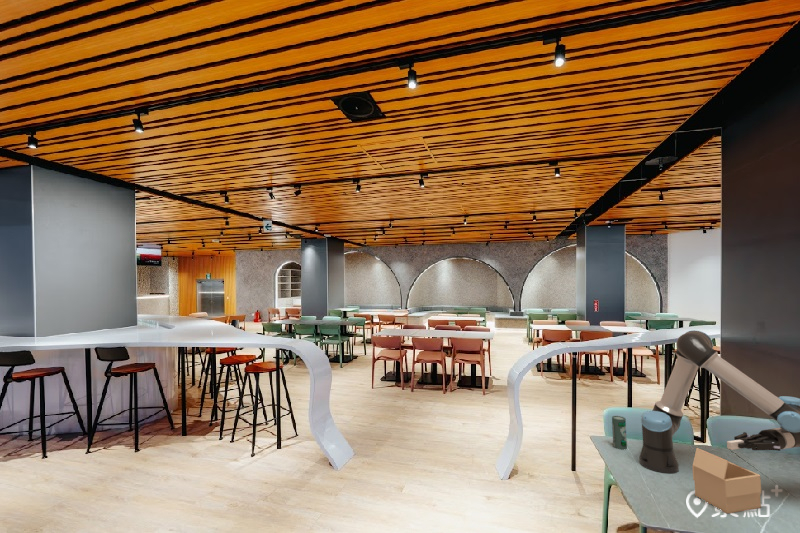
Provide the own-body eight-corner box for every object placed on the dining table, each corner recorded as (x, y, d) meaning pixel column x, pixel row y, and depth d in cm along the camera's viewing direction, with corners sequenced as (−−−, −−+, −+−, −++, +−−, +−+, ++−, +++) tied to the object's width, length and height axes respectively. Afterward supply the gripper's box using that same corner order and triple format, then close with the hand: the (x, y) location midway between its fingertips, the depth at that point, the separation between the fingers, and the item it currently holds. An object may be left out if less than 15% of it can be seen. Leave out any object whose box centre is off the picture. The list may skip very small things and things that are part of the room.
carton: (728, 514, 138) (726, 480, 139) (694, 495, 151) (692, 464, 152) (763, 508, 142) (761, 475, 142) (727, 490, 154) (725, 460, 155)
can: (626, 450, 193) (625, 420, 194) (613, 448, 196) (611, 418, 197) (626, 446, 198) (625, 417, 199) (613, 443, 201) (612, 415, 202)
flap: (724, 479, 140) (723, 479, 140) (693, 465, 151) (692, 465, 151) (728, 461, 141) (727, 460, 140) (697, 447, 152) (696, 447, 152)
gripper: (796, 455, 146) (748, 462, 141) (758, 442, 159) (712, 448, 154) (794, 435, 146) (746, 442, 142) (756, 424, 159) (711, 429, 154)
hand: (729, 445), depth 148 cm, fingers closed
